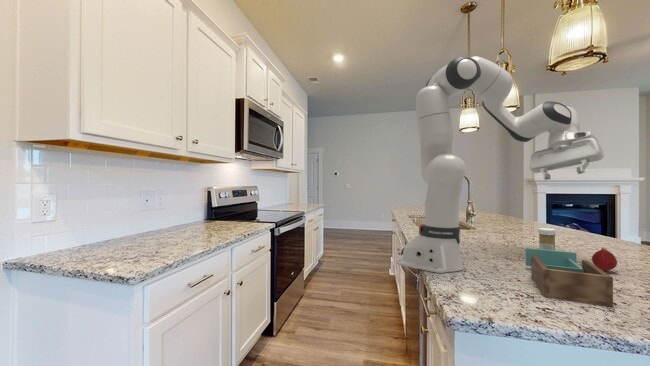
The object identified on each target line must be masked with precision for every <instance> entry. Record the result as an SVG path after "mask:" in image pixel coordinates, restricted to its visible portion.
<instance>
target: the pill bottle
mask: <svg viewBox="0 0 650 366" xmlns="http://www.w3.org/2000/svg"><path fill="white" fill-rule="evenodd" d="M556 232H557V231H556V229H554V228H550V227H540V228H538V236H539V237H538V238H539V240H538V241H539V242H538V249H545V250H556V238H555V237H556V235H557V234H556Z"/></svg>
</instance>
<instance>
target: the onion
mask: <svg viewBox="0 0 650 366" xmlns="http://www.w3.org/2000/svg"><path fill="white" fill-rule="evenodd" d="M591 263H592V264H594V265H595V266H597V267H598V268H599V269H601V270H602V271H604V272H605V273H607V272H609V271H611V270H613V269H615V268H616V267H617V264H618V261H617V258H616V256H615V255H614V254H613V253H612V252H610V251H609V250H607V249H606V247H605V246H604V247H601V249H600V250H597V251H595V252H594V254H592V257H591Z"/></svg>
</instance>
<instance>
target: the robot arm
mask: <svg viewBox="0 0 650 366" xmlns="http://www.w3.org/2000/svg"><path fill="white" fill-rule="evenodd" d="M513 85H514V84H513V76H512V74H511V73H510V72H509V71H508V70H506V69H505V68H503V67H501V66H500V65H499V64H496V63H495V62H493V61H491V60H489V59H486V58H484V57H481V56H479V55H476V56H475V55H474V56H470V57H469V56H466V55H465V56H459V57H456V58H454V59H452V60H451V61H450V62H449V63H448V64H447V63H446V65H444V66H443V67H440V69H439V70H437V71H436V73H434V74H433V75H432V76H431V77H430V78H429V80H428V81H427V83H426V85H425V87H423V88H422V89H420V90H419V91H418V92H417V95H416V96H415V97H416V99H415V100H416V101H415V113H416V122H417V130H418V136H419V142H420V143H419V144H420V151H419V152H420V167H421V176H422V179H423V181H424V182H425V183H426V184H427V189H426V197H425V201H424V223H421V224H420V225H419V227H418V235H417V236H415V237H414V238H413V239H411V240H409V241H408V242H407V243H406V244H405V245H404V247H403V251H402V254H400V255H399V256H398V257H397V258H396V264H397V265H398V266H403V267H405V268H406V267H407V268H412V269H416V270H417V269H418V270H422V271H426V272H432V273H436V274H444V273H449V272H450V273H451V272H452V273H453V272H460V271H462V270H464V269H465V267H464V262H463V260H462V259H463V258H462V255H461V247H460V243H461V226H459V225H460V223H459V222H460V221H459V219H460V218H459V216H460V214H459V213H460V212H459V211H460V210H459V209H460V199H461V193H462V188H463V181H464V179H465V176H466V174H467V167H466V163H465V162H464V160H463V159H462V158H461V157H459V156H457V155H455V154H453V152H452V151H453V149H452V148H453V140H454V131H453V123H452V119H451V113H450V111H451V110H450V108H449V106H450V105H449V100H450V98H453V97H455V96H458V95H460V94H461V93H462V92H464V91H465V90H466V89H469V90H470V91H471V92H473V93H475V94H476V95H477V96H479V97H480V98H481V100H482V104H481V105H482V106H483V109H484V110H485V111H486V113H487V114H489V116H491V118H492V119H494V120H495V121H496V122H497V123H498V124H499V125H500V126H502V127H503V128H504V129H505V130H506V131H507V133H508V134H509V136H511V138H513V139H514V140H516V141H517V142H520V143H521V142H522V143H527V142H530V141H531V140H533V139H535V138H536V137H537V136H539V135H542V134H544V133H546V132H547V133H549V135H548V139H547V148H545V149H541V150H537V151H535V152H534V153H533V154H531V155H530V161H529V166H528V167H529V168H528V169H529V170H531V172H533V173H535V174H539V173H541V174H543V175H542V176H543V180H545V181H548V180H551V179H552V178H551V174H550V173H548V172H549V171H554V170H558V169H559V170H560V169H564V168H568V167H573V166H577V167H576V172H577V174H578V175H581V174H585V173H586V172H585V170H586V169H587V168H588V167H589V165H590V163H593V162H598V161H601V160H602V159H604V157H605V154H604V149H603V148H602V146H601V144H600V142H599V139H598V138H597V137H596V136H595V134H593V133H592V132H591V131H588V130H587V131H580V130H581V124H580V118H579V117H580V116H579V114H578V112H577V110H576V109H575V108H574V107H572V106H567V105H564V104H563V103H562V102H561V103H560V102H557V101H545V102H543V103H541V104H540V105H537V106H536V107H534V108H533V109H531V110H530V111H527V112H526V113H524V114H523V115H521V116H515V115H514V114H512V112H511V111H509V110H508V109H507V108H506V107H505V106H504V104H503V103H504V102H505V101H506V99H507V98H508V96H509V94H510V92H511V91H512V88H513ZM579 165H580V166H579Z"/></svg>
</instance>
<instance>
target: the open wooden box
mask: <svg viewBox="0 0 650 366" xmlns="http://www.w3.org/2000/svg"><path fill="white" fill-rule="evenodd" d="M581 268H583V269H584V273H581V272H572V271H563V270H555V269H548V268H547V267H546V266H545V265H544V263H543V262H542V261H541V260H540V259H539V258H538V257H537V256H536V255H532V266H531V279H532V281H533V282H534V283H535V285H536V287H537V289H538V291H539V292H540V293H541V295H542V296H543V298H544V297H546V298H552V299H558V300H564V301H570V302H576V303H577V302H578V303H582V304H583V303H584V304H589V303H591V305H596V304H597V305H596V306H602V305H603V307H611V308H613V307H614V278H613V276H611V275H610V274H609V273H607V272H604V271H602V270H601V269H599V268H598V267H597V266H595V265H594V264H593V262H592V261H591V262H590V261H589V260H587V259H581Z"/></svg>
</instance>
